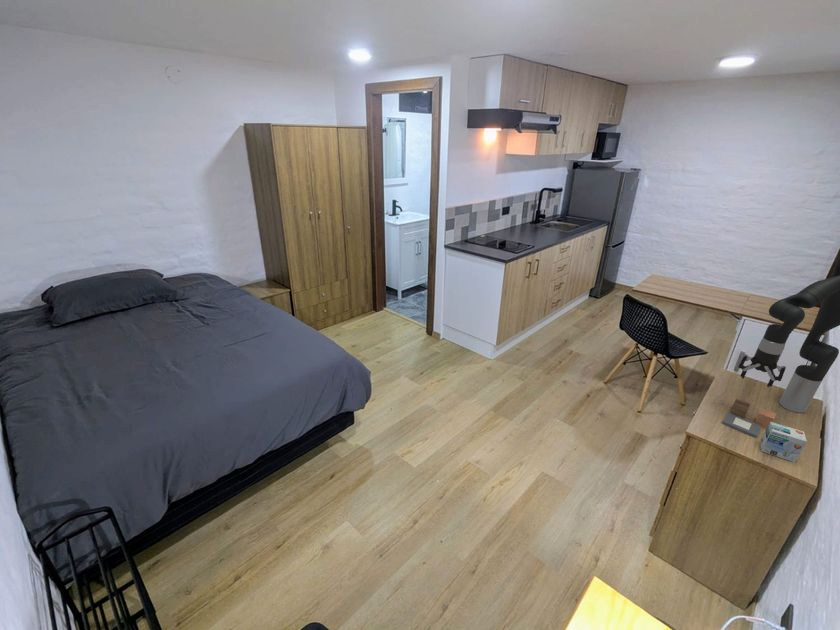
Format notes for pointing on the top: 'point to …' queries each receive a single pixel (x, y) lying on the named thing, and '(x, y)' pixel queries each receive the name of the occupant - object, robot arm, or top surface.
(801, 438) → the light bulb box
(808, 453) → the top surface
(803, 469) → the top surface
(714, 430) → the top surface
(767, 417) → the rust block
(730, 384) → the top surface
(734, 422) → the plate
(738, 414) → the walnut block
